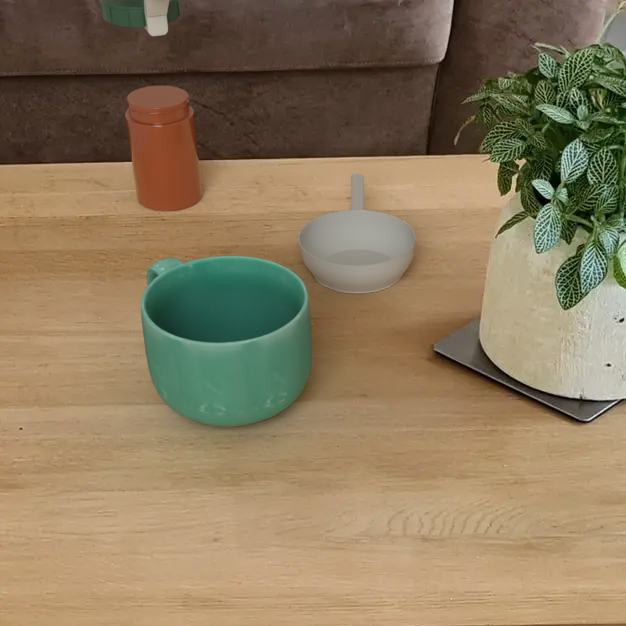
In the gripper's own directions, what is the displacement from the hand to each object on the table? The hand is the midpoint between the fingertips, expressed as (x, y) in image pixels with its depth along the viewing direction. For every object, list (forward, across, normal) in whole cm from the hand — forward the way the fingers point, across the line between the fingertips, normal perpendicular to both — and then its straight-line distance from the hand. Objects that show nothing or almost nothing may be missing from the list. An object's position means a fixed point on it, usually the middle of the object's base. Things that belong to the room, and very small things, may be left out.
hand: (143, 18), depth 108 cm
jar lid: (-2, 0, 0) cm, 2 cm away
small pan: (+18, -18, -14) cm, 29 cm away
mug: (+18, -34, +6) cm, 39 cm away
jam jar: (+18, +1, -1) cm, 18 cm away
